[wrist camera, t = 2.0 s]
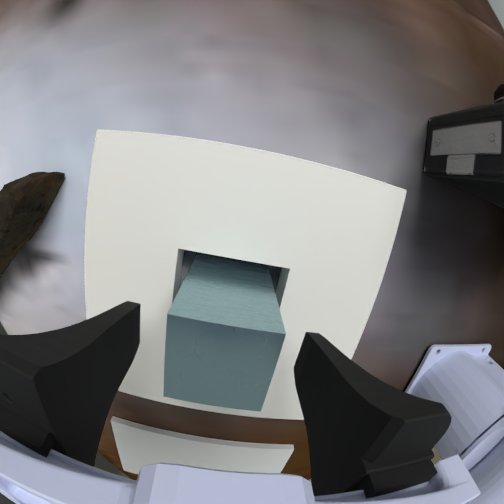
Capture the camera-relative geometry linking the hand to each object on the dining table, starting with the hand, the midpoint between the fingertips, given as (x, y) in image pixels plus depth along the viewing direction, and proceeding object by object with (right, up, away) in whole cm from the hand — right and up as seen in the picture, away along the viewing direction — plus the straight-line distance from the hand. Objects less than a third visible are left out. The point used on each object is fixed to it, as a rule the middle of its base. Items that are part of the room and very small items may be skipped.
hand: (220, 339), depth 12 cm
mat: (-4, -17, +10) cm, 20 cm away
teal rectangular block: (0, +1, +5) cm, 5 cm away
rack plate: (0, +1, +5) cm, 5 cm away
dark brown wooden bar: (-18, +4, +4) cm, 19 cm away
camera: (+19, +11, +3) cm, 22 cm away
